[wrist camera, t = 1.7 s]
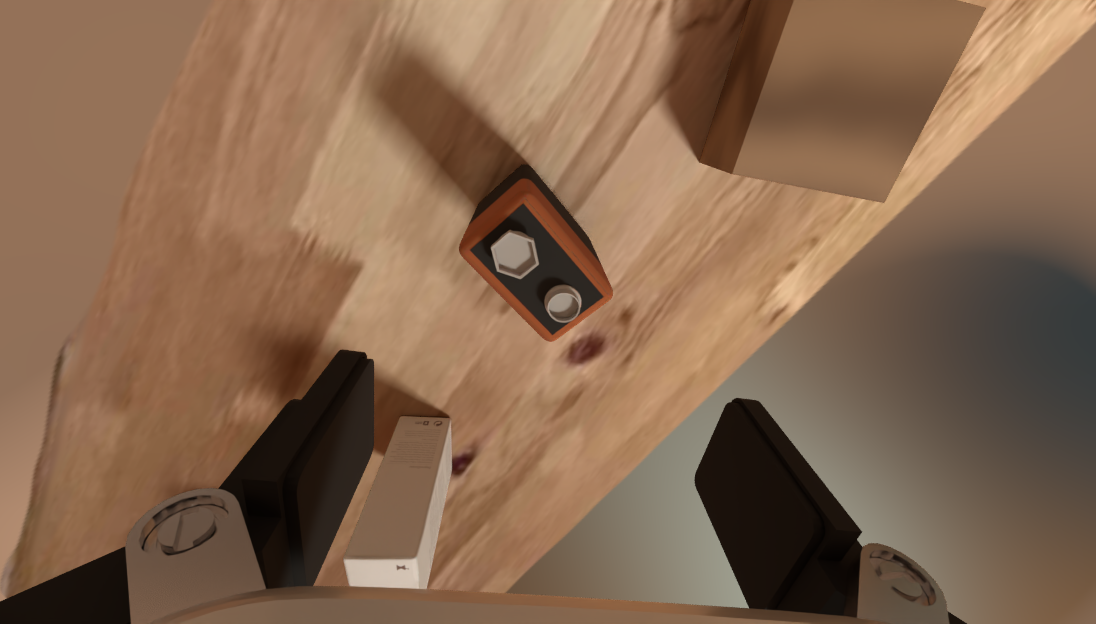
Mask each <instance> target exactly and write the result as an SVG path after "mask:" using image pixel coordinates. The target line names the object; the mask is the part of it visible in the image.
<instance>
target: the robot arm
mask: <svg viewBox="0 0 1096 624" xmlns="http://www.w3.org/2000/svg"><path fill="white" fill-rule="evenodd" d="M373 446H374V361H373V359H367V355H366V353H365V352H357V351H349V350H340V351H339V352H338V353H337V354H336V356H335V357H334V358H333V359H332V361H331V362H330V363H329V365H328V366H327V367H326V369H325V370H324V371H323V372H322V374H321V375H320V376H319V378H318V379H317V380H316V382H315V383H314V384H313V385H312V387H311V388H310V389H309V391H308V392H307V393H306V395H305V396H304V397H303V399H302V400H298V399H293V400H291V401H289V402H288V403H287V404H286V405H285V407H284V408H283V409H282V410H281V412H280V413H279V414H278V415H277V417H276V418H275V419H274V420H273V422H272V423H271V424H270V425H269V426H268V428H267V429H266V430H265V431H264V433H263V434H262V435H261V436H260V438H259V439H258V440H257V441H256V443H255V444H254V445H253V446H252V448H251V449H250V450H249V451H248V452H247V454H246V455H245V456H244V457H243V459H242V460H241V461H240V462H239V464H238V465H237V466H236V467H235V469H234V470H233V471H232V472H231V474H230V475H229V476H228V477H227V479H226V480H225V481H224V482H223V483H222V485H221V486H220V487H219V488H218V489H215V488H205V489H195V490H192V491H188V492H184V493H180V494H178V495H176V496H174V497H171V498H169V499H167V500H165V501H163V502H161V503H160V504H158V505H157V506H155V507H153V508H152V509H150V510H149V511H148V512H147V513H145V514H144V515H143V516H142V517H141V518H140V519H139V520H138V521H137V522H136V523H135V525H134V526H133V528H132V529H131V531H130V532H129V534H128V536H127V541H126V546H125V547H123V548H121V549H118V550H116V551H114V552H111V553H109V554H107V555H105V556H102V557H100V558H98V559H96V560H93V561H91V562H89V563H87V564H84V565H82V566H80V567H77V568H75V569H73V570H71V571H68V572H66V573H64V574H62V575H59V576H57V577H55V578H53V579H50V580H48V581H46V582H43V583H41V584H39V585H37V586H34V587H32V588H30V589H28V590H25V591H23V592H21V593H19V594H16V595H14V596H12V597H9V598H7V599H5V600H3V601H0V624H967V623H965V622H964V621H962V620H960V619H959V618H957V617H956V616H954V615H953V614H951V613H949V612H948V611H947V604H946V600H945V597H944V595H943V592H942V591H941V589H940V588H939V586H938V584H937V583H936V581H935V580H934V579H933V578H932V577H931V576H930V575H929V574H928V573H927V572H926V571H925V570H924V569H923V568H922V567H921V566H920V565H918V564H917V563H916V562H915V561H914V560H912V559H910V558H909V557H908V556H906V555H904V554H903V553H901V552H899V551H897V550H895V549H893V548H891V547H888V546H886V545H882V544H878V543H869V544H867V545H865V546H863V547H862V546H861V545H860V543H859V542H858V541H857V538H858V537H859V536H860V534H861V533H862V531H861V530H860V529H859V527H858V526H857V525H856V524H855V522H854V521H853V520H852V518H851V517H850V516H849V515H848V514H847V512H846V511H845V510H844V508H843V507H842V506H841V504H840V503H839V502H838V501H837V499H836V498H835V497H834V496H833V494H832V493H831V492H830V491H829V489H828V488H827V487H826V485H825V484H824V483H823V482H822V480H821V479H820V478H819V477H818V475H817V474H816V473H815V471H813V469H812V468H811V466H810V465H809V464H808V463H807V461H806V460H805V459H804V458H803V456H802V455H801V454H800V452H799V451H798V450H797V449H796V447H795V446H794V445H793V443H792V442H791V441H790V440H789V438H788V437H787V436H786V435H785V433H784V432H783V431H782V430H781V428H780V427H779V426H778V424H777V423H776V422H775V421H774V419H773V418H772V417H771V416H770V414H769V413H768V412H767V411H766V409H765V408H764V407H763V406H762V404H761V403H760V402H759V401H756V400H750V399H741V398H736V399H734V400H732V402H730V403H727V404H726V406H725V408H724V410H723V412H722V414H721V417H720V419H719V421H718V424H717V426H716V428H715V430H714V433H713V435H712V437H711V440H710V442H709V444H708V447H707V448H706V451H705V453H704V455H703V457H702V460H701V462H700V464H699V467H698V469H697V471H696V474H695V486H696V489H697V491H698V493H699V495H700V498H701V500H702V502H703V504H704V507H705V509H706V511H707V514H708V516H709V518H710V521H711V523H712V525H713V527H714V529H715V532H716V534H717V536H718V538H719V541H720V543H721V545H722V548H723V550H724V552H725V554H726V557H727V559H728V561H729V563H730V566H731V568H732V570H733V573H734V575H735V577H736V579H737V581H738V584H739V586H740V588H741V590H742V593H743V595H744V597H745V600H746V602H747V604H748V606H749V609H748V608H735V607H719V606H705V605H704V606H703V605H689V604H675V603H674V604H673V603H659V602H642V601H626V600H610V599H592V598H577V597H559V596H543V595H525V594H507V593H489V592H471V591H453V590H435V589H413V588H386V587H359V586H313V585H314V583H315V581H316V578H317V576H318V574H319V572H320V569H321V567H322V565H323V563H324V560H325V558H326V556H327V554H328V551H329V549H330V547H331V545H332V542H333V540H334V538H335V536H336V533H337V531H338V529H339V527H340V524H341V522H342V520H343V518H344V515H345V513H346V511H347V509H348V506H349V504H350V502H351V500H352V498H353V495H354V493H355V491H356V489H357V486H358V484H359V482H360V480H361V477H362V475H363V473H364V471H365V468H366V466H367V464H368V462H369V459H370V457H371V454H372V451H373Z"/></svg>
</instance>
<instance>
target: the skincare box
mask: <svg viewBox="0 0 1096 624" xmlns="http://www.w3.org/2000/svg"><path fill="white" fill-rule="evenodd" d="M451 471H452V451H451V419H450V418H437V417H412V416H401V417H400V418H399V420H398V423H397V425H396V428H395V430H394V433H393V435H392V438H391V440H390V443H389V445H388V448H387V450H386V453H385V455H384V458H383V460H382V463H381V465H380V467H379V470H378V472H377V475H376V478H375V480H374V483H373V485H372V488H371V490H370V492H369V495H368V497H367V500H366V502H365V505H364V508H363V510H362V512H361V515H360V518H359V520H358V522H357V525H356V527H355V530H354V532H353V535H352V537H351V540H350V542H349V545H348V548H347V550H346V552H345V555H344V558H343V560H344V565H345V569H346V574H347V579H348V583H349V586H359V587H386V588H413V589H427V584H428V580H429V575H430V571H431V566H432V561H433V557H434V552H435V547H436V542H437V538H438V533H439V528H440V523H441V518H442V513H443V509H444V504H445V499H446V494H447V490H448V485H449V480H450V476H451Z"/></svg>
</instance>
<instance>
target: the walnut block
mask: <svg viewBox="0 0 1096 624" xmlns="http://www.w3.org/2000/svg"><path fill="white" fill-rule="evenodd" d="M985 9H986V8H985V7H981V6H977V5H973V4H969V3H966V2H962V1H958V0H751V1H750V4H749V8H748V11H747V14H746V17H745V20H744V23H743V26H742V30H741V33H740V36H739V39H738V42H737V45H736V48H735V51H734V55H733V58H732V61H731V64H730V67H729V70H728V73H727V77H726V80H725V83H724V86H723V89H722V92H721V95H720V99H719V102H718V105H717V108H716V111H715V114H714V117H713V120H712V124H711V127H710V130H709V133H708V136H707V139H706V142H705V146H704V149H703V152H702V155H701V158H700V161H699V162H700V163H702V164H705V165H708V166H711V167H714V168H716V169H719V170H722V171H725V172H728V173H730V174H734V175H739V176H745V177H750V178H755V179H760V180H766V181H771V182H776V183H782V184H787V185H792V186H797V187H803V188H808V189H813V190H819V191H824V192H829V193H834V194H840V195H845V196H850V197H856V198H861V199H866V200H871V201H877V202H882V203H884V202H885V201H886V199H887V197H888V195H889V193H890V191H891V189H892V187H893V185H894V183H895V181H896V179H897V178H898V176H899V174H900V172H901V170H902V168H903V166H904V164H905V162H906V160H907V158H908V156H909V155H910V153H911V151H912V149H913V147H914V145H915V143H916V141H917V139H918V137H919V135H920V133H921V132H922V130H923V128H924V126H925V124H926V122H927V120H928V118H929V116H930V114H931V112H932V110H933V109H934V107H935V105H936V103H937V101H938V99H939V97H940V95H941V93H942V91H943V89H944V87H945V86H946V84H947V82H948V80H949V78H950V76H951V74H952V72H953V70H954V68H955V66H956V64H957V63H958V61H959V59H960V57H961V55H962V53H963V51H964V49H965V47H966V45H967V43H968V41H969V40H970V38H971V36H972V34H973V32H974V30H975V28H976V26H977V24H978V22H979V20H980V18H981V17H982V15H983V13H984V11H985Z"/></svg>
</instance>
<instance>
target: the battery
mask: <svg viewBox="0 0 1096 624" xmlns="http://www.w3.org/2000/svg"><path fill="white" fill-rule="evenodd" d="M459 252H460V254H461V256H462V257H463V258H464V259H465V260H466V261H467V262H468V263H469V264H470V265H471V266H472V267H473V268H474V269H475V270H476V271H477V272H478V273H479V274H480V275H481V276H482V277H483V278H484V279H485V280H486V281H487V282H488V283H489V284H490V285H491V286H492V287H493V288H494V289H495V291H496V292H497V293H498V294H499V295H500V296H501V297H502V298H503V299H504V300H505V301H506V302H507V303H508V304H509V305H510V306H511V307H512V308H513V309H514V310H515V311H516V312H517V313H518V314H519V315H520V316H521V317H522V318H523V319H524V320H525V321H526V322H527V323H528V324H529V325H530V326H531V327H532V328H533V329H534V330H535V331H536V332H537V333H538V334H539V335H540V336H541V337H542V338H543V339H545V340H547V341H549V342H552V341H555V340H556V339H558V338H559V337H560V336H562V335H563V334H565V333H566V332H567V331H569V330H570V329H571V328H573V327H574V326H575V325H577V324H578V323H579V322H581V321H582V320H583V319H585V318H586V317H587V316H589V315H590V314H592V313H593V312H594V311H596V310H597V309H598V308H600V307H601V306H602V305H604V304H605V303H606V302H608V301H609V300H610V299H611V298H612V296H613V290H612V287H611V285H610V283H609V281H608V278H607V276H606V274H605V272H604V270H603V267H602V265H601V263H600V261H599V259H598V256H597V254H596V252H595V250H594V248H593V245H592V243H591V241H590V239H589V237H588V236H587V235H586V233H585V232H584V231H583V230H582V228H581V227H580V226H579V225H578V224H577V222H576V221H575V220H574V219H573V217H572V216H571V215H570V214H569V213H568V211H567V210H566V209H565V208H564V206H563V205H562V204H561V203H560V202H559V200H558V199H557V198H556V197H555V195H554V194H553V193H552V192H551V191H550V189H549V188H548V187H547V186H546V184H545V183H544V182H543V181H542V180H541V178H540V177H539V176H538V175H537V173H536V172H535V171H534V170H533V169H532V168H531V167H530V166H529V165H525V164H524V165H521V166H520V167H519V168H518V169H516V170H515V171H514V172H513V173H512V174H511V175H510V176H509V177H508V178H506V179H505V180H504V181H503V182H502V183H501V184H500V185H499V186H498V187H496V188H495V189H494V190H493V191H492V192H491V193H490V194H489V195H488V196H487V197H485V198H484V199H483V200H482V201H481V202H480V203H479V204H478V206H477V208H476V210H475V213H474V215H473V217H472V219H471V221H470V223H469V225H468V228H467V230H466V232H465V234H464V236H463V238H462V240H461V243H460V246H459Z"/></svg>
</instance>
